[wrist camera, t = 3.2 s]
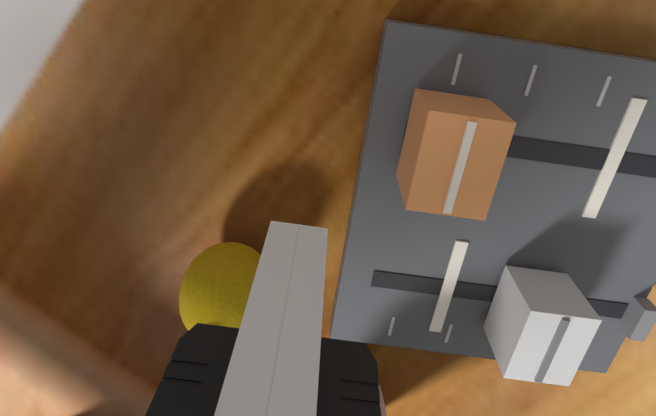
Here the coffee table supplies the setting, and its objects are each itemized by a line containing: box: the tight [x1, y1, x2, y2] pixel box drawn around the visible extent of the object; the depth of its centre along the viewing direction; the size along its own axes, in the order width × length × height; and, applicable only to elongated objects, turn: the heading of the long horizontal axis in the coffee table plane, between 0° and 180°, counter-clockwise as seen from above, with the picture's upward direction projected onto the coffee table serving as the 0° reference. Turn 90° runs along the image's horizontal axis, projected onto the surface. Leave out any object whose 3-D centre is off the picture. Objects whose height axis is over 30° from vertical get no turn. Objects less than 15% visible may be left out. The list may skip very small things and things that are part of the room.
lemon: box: [179, 242, 261, 331], centre depth 29 cm, size 6×6×8 cm
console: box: [330, 18, 656, 373], centre depth 30 cm, size 20×21×3 cm
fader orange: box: [396, 88, 517, 221], centre depth 24 cm, size 4×5×5 cm
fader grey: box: [483, 265, 602, 386], centre depth 29 cm, size 4×5×5 cm
